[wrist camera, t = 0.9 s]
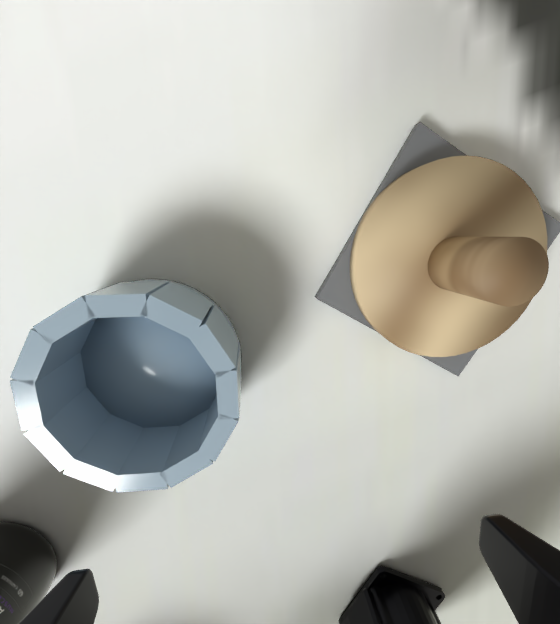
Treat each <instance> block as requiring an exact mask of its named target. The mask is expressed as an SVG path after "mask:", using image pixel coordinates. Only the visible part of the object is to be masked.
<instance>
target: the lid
mask: <svg viewBox="0 0 560 624" xmlns="http://www.w3.org/2000/svg"><path fill="white" fill-rule="evenodd" d="M548 268H549V263H548V257H547V230H546V223H545V219H544V215H543V212H542V209H541V207H540V204H539V202H538V200H537V198H536V196H535V195H534V193H533V191H532V190H531V188H530V187H529V186H528V185H527V184H526V182H525V181H524V180H523V179H522V178H521V177H520V176H519V175H517V174H516V173H515V172H514V171H512V170H511V169H509V168H508V167H506V166H504V165H503V164H500V163H498V162H496V161H493V160H490V159H486V158H482V157H477V156H452V157H447V158H443V159H438V160H436V161H433V162H430V163H427V164H425V165H422V166H420V167H417V168H415V169H413V170H411V171H409V172H407V173H405V174H403V175H402V176H400V177H399V178H397V179H396V180H394V181H393V182H392V183H390V184H389V185H388V186H387V187H386V188H385V189H384V190H383V191H382V192H381V193H380V194H379V195H378V196H377V197H376V198H375V200H374V201H373V202H372V203H371V205H370V206H369V208H368V209H367V211H366V212H365V214H364V216H363V218H362V220H361V222H360V224H359V226H358V228H357V231H356V234H355V237H354V240H353V244H352V249H351V255H350V280H351V286H352V291H353V294H354V297H355V300H356V302H357V305H358V307H359V309H360V311H361V312H362V314H363V316H364V317H365V319H366V320H367V321H368V322H369V324H370V325H371V326H372V327H373V328H374V329H375V330H376V331H377V332H378V333H380V334H381V335H382V336H383V337H385V338H386V339H387V340H388V341H390V342H391V343H393V344H394V345H396V346H398V347H399V348H401V349H404V350H406V351H408V352H411V353H414V354H418V355H422V356H429V357H448V356H456V355H460V354H464V353H467V352H470V351H473V350H476V349H478V348H480V347H482V346H484V345H486V344H488V343H490V342H491V341H493V340H494V339H496V338H497V337H499V336H500V335H501V334H502V333H504V332H505V331H506V330H507V329H509V328H510V327H511V326H512V324H513V323H514V322H515V321H516V320H517V319H518V318H519V317H520V316H521V314H522V313H523V312H524V311H525V309H526V308H527V306H528V305H529V303H530V301H531V300H532V298H533V297H534V296H535V295H536V294H537V293H538V292H539V290H540V289H541V288H542V286H543V284H544V282H545V280H546V277H547V274H548Z"/></svg>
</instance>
